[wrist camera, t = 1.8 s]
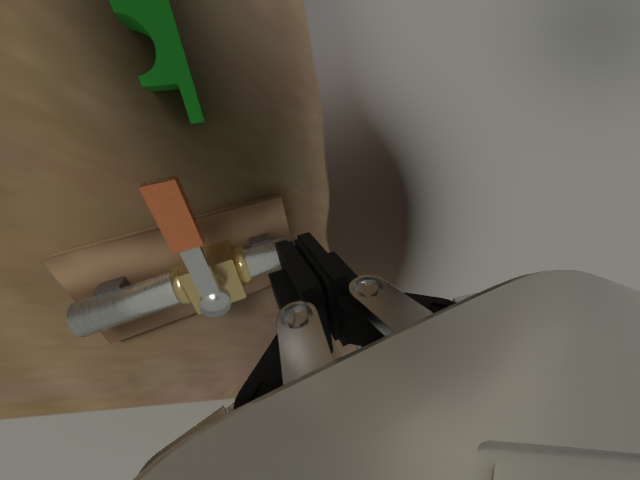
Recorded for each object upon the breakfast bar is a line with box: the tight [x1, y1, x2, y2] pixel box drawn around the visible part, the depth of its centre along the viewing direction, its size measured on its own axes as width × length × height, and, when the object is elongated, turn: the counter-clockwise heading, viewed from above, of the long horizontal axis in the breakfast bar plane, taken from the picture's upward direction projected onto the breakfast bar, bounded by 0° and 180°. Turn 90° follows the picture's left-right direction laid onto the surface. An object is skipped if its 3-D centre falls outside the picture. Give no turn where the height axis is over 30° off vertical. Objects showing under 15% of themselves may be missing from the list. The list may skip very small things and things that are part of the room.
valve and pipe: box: [67, 233, 288, 337], centre depth 28 cm, size 5×22×5 cm, turn 99°
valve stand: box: [42, 194, 292, 344], centre depth 31 cm, size 12×24×2 cm, turn 99°
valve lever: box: [138, 175, 231, 318], centre depth 22 cm, size 13×3×3 cm, turn 9°
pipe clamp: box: [109, 0, 205, 124], centre depth 21 cm, size 11×4×5 cm, turn 7°
